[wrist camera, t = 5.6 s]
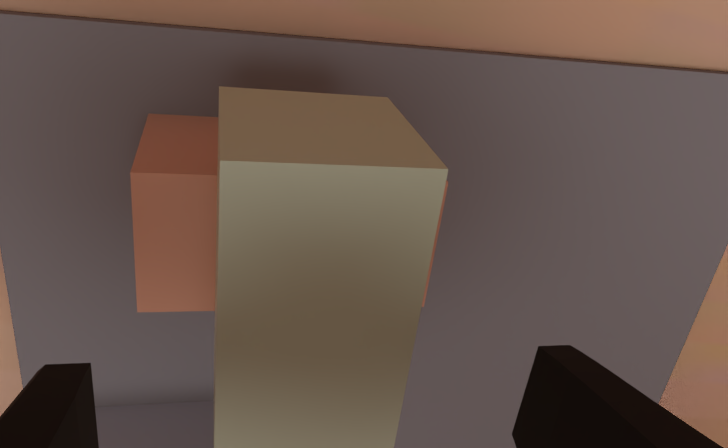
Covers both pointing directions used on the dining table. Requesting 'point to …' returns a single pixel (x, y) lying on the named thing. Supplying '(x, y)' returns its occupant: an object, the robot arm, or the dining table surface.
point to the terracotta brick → (180, 214)
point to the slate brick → (156, 425)
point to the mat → (458, 223)
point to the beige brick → (318, 267)
